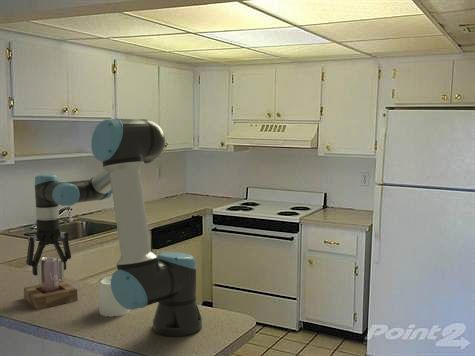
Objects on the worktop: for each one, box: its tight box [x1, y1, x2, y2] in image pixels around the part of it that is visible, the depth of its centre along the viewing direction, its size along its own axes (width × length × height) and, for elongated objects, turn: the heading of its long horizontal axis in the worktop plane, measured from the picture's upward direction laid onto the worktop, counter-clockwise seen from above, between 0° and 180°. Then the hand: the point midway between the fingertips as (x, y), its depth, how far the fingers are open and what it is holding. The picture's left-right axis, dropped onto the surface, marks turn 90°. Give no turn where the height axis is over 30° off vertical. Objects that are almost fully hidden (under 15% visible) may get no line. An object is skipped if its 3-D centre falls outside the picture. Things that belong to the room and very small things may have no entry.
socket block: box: [23, 279, 78, 310], centre depth 184 cm, size 14×14×4 cm
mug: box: [97, 275, 131, 318], centre depth 174 cm, size 14×10×11 cm
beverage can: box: [39, 256, 60, 294], centre depth 183 cm, size 6×6×15 cm
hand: (50, 281), depth 183 cm, fingers open, 8 cm apart
